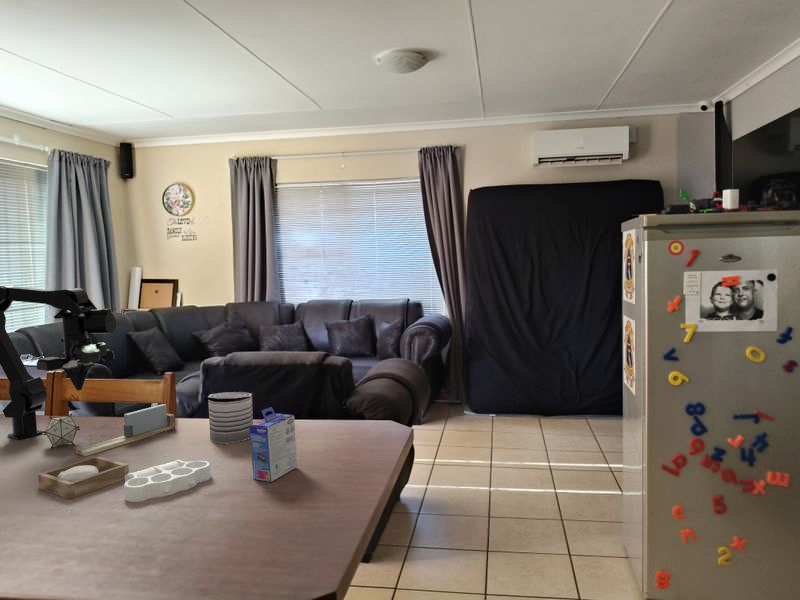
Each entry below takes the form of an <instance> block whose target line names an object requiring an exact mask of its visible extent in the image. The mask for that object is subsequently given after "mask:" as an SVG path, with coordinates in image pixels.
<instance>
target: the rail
mask: <svg viewBox="0 0 800 600" xmlns="http://www.w3.org/2000/svg"><path fill="white" fill-rule="evenodd" d="M167 424H168V425H167V426H164V427H161V428H158V429H154V430H151V431H148V432H144V433H141V434H138V435H134V436H133V437H126V436H124V435H122V436H117V437H115V438H111V439H108V440H104V441H101V442H98V443H95V444H92V445H88V446H84V447H81V448H78V449H76V450H75V451H76V454H77V455H79V456H80V455H81V456H83V457H88V456H91V455H94V454H97V453H100V452H103V451H107V450H110V449H115V448H116V447H119V446H123V445H126V444H129V443H133V442H136V441H140V440H143V439H146V438H149V437H152V436H155V435H154V434H156V435H158V434H157V433H159V434H161V433H160V432H162V433H164V432H163V431H165V432H167V430H169V431H171V430H170V429H172V430H174V429H173V428H175V429H176V420H175V414H173V413H168V412H167ZM151 435H152V436H151ZM148 436H149V437H148ZM145 437H146V438H145Z"/></svg>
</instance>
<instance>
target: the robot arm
mask: <svg viewBox="0 0 800 600" xmlns="http://www.w3.org/2000/svg"><path fill="white" fill-rule="evenodd" d="M13 302H20V303H31V304H32V303H33V304H42V305H48V306H51V307H53V308H55V309H58V310H59V311H58V312H57V313H56V314H55V315H53V318H54V319H55V320H57V319H61V320H62V323H61V324H62V336H63V337H62V338H60V343H63V348H64V349H63V350H64V352H62V353H61V357H62V358H61V357H55V356H49V357H43V358H38V360H37V362H36V370H38V371H39V370H40V371H44V372H45V371H46V372H51V371H57V370H63V372H64V373H65V374H66V375H67V376H68V378H69V379H70V381H71V383H72V385H73V386H74V388H75V390H76V391H81V390H82V389H83V387H84V385H85V384H84V382H85V379H86V376H87V375H88V372H89V371H90V369H92V367H94V366H96V363H97V362H98V363H99V362H100V361H101V360H103V362H107V361H113V360H115V352H114V350H112V349H108V348H107V344H106V343H105V342H97V343H95V344H93V343H92V340H91V337H89V336H88V334H90V335H97V334H99V335H101V334H104V335H105V334H113V333H114V332H115V330H116V328H117V319H116V318H115V316H114V313H113V312H112V309H111V308H104V309H98V308H97V306H96V305H95V304H94V303H93V301H92V300H91V299H90V298H89V296H88V294H87V291H86V290H85V289H83V288H76V287H75V288H66V289H65V288H64V289H54V290H53V289H42V288H33V287H23V286H22V287H20V286H14V285H0V367H1V368H2V371H3V372H4V374H5V377H6V378H7V380H8V383H9V387H8V388H9V389H8V396H9V399H10V402H9V403H8V404H7V405H6V406H5V407H4V408H3V410H2V412H3V416H4V418H10V419H11V422H12V423H11V424H12V425H11V426H12V433H8V434H7V437H9V438H12V439H16V440H22V439H26V438H29V437H34V436H37V435H41V434H43V433H42V432H43V431H44V430H39V429H38V424H37V413H36V412H37V411H40V410H42V409H43V405H44V403H45V402H46V399H47V398H48V392H47V390H48V388H47V387H46V386H45V384H44V382H43V379H42V378H41V376H37V377H33V376H32V375H31V374H29V372H28V369H27V368H26V366H25V364H24V362H23V360H22V359H21V356H20V354H19V353H18V351H17V349H16V347H15V345H14V344H13V341H12V340H11V338H10V335H9V334H8V332H7V330H6V321H7V318H6V315H5V312H6V311H7V310H9V309H10V308H11V306H12V303H13ZM94 362H95V363H94Z"/></svg>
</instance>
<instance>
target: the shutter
mask: <svg viewBox="0 0 800 600" xmlns="http://www.w3.org/2000/svg"><path fill="white" fill-rule="evenodd" d="M167 407H168V406H167V404H166V403H162V404H159V405H154V406H151V407H147V408H142V409H139V410H134V411H132V412H128V413H124V414H123V419H124V420H123V422H124V424H123V436H126V437H133V436H134V435H138V434H141V433H144V432H148V431H151V430H154V429H158V428H161V427H164V426H167V425H168V424H167V413H168V409H167Z"/></svg>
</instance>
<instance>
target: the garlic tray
mask: <svg viewBox="0 0 800 600" xmlns="http://www.w3.org/2000/svg"><path fill="white" fill-rule="evenodd" d="M84 465H90V466H95V467H96V468H97V469H98V471H99V473H97V474H94V475H91V476H88V477H85V478H82V479H79V480H76V481H73V482H69V481H66V480H63V479H60V478H58V475H59V474H60V472H64V471H66V470H68V469H70V468H73V467H76V466H84ZM129 468H130V467H129V464H128V463H125V462H122V461H121V462H120V461H117V460H114V459H110V458H107V457H103V456H99V455H95V456H92V457H91V456H90V457H89V458H86V459H82V460H79V461H76V462H73V463H70V464H65V465H64V466H60V467H57V468H53V469H50V470H48V471H44V472H41V473H39V474H37V478H38V479H37V481H38V488H39V489H41V490H44V491H47V492H49V493H52V494H54V493H55V495H58V496H60V497H63V498H66V499H69V500H72V499H74V498H77V497H80V496H82V495H86V494H88V493H91V492H93V491H96V490H99V489H102V488H105V487H107V486H110V485H113V484H117V483H119V482H121V481H125V475H126V474H128V473H130V471H129V470H130V469H129Z"/></svg>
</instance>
